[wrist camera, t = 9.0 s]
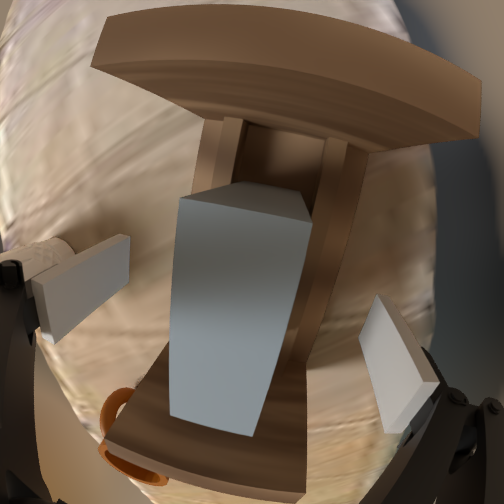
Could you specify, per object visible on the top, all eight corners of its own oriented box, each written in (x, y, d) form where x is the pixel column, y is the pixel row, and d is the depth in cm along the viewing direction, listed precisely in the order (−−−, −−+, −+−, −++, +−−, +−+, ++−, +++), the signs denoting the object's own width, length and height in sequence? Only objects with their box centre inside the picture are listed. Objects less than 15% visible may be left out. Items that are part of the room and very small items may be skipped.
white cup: (73, 225, 24) (-3, 253, 14) (95, 297, 26) (33, 345, 16) (33, 239, 25) (-30, 265, 16) (53, 300, 27) (-2, 339, 18)
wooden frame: (213, 97, 19) (107, 16, 6) (370, 129, 18) (481, 80, 5) (178, 342, 26) (109, 452, 12) (299, 371, 25) (295, 503, 12)
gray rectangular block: (244, 180, 20) (179, 197, 8) (303, 192, 19) (320, 225, 8) (224, 305, 23) (169, 415, 11) (275, 316, 22) (257, 437, 11)
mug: (169, 378, 28) (137, 438, 19) (197, 440, 31) (179, 492, 22) (107, 371, 29) (70, 419, 20) (141, 431, 32) (118, 476, 24)
